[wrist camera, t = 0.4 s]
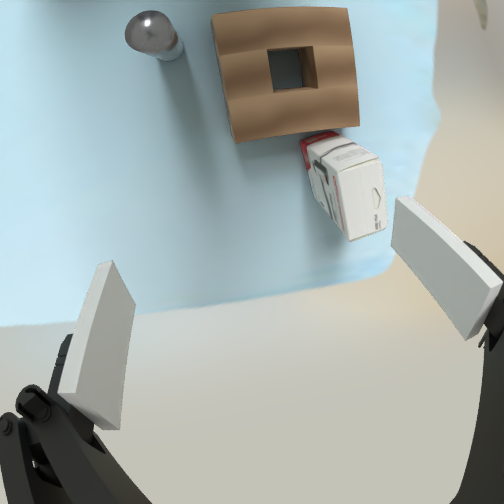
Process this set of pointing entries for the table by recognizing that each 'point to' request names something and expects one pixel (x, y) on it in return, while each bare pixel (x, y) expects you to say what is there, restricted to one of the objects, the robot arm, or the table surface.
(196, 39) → the table surface
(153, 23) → the peg
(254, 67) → the socket block
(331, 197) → the ink box
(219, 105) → the table surface
